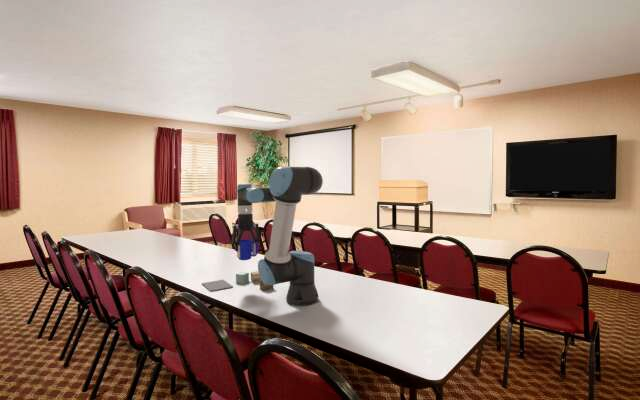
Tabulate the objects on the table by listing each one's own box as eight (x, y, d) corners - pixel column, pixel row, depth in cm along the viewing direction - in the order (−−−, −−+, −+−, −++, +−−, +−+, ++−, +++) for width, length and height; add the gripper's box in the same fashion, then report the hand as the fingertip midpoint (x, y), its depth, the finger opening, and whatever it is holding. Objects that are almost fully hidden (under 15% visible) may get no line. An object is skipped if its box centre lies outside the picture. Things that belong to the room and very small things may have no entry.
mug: (255, 261, 184) (254, 242, 183) (234, 261, 187) (233, 242, 186) (262, 257, 191) (261, 239, 191) (241, 257, 195) (240, 239, 194)
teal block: (248, 281, 202) (248, 272, 202) (243, 283, 198) (242, 274, 197) (241, 280, 204) (241, 271, 204) (236, 282, 200) (235, 274, 200)
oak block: (261, 281, 201) (261, 273, 201) (252, 283, 199) (252, 274, 199) (259, 279, 206) (259, 271, 205) (250, 280, 204) (250, 272, 203)
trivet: (233, 287, 191) (232, 286, 191) (210, 291, 184) (210, 290, 184) (223, 280, 204) (223, 279, 204) (201, 284, 198) (201, 283, 198)
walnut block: (273, 288, 189) (273, 279, 188) (266, 290, 185) (265, 281, 185) (267, 286, 192) (266, 277, 192) (259, 288, 188) (259, 279, 188)
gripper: (260, 211, 196) (261, 252, 198) (223, 214, 185) (224, 257, 186) (266, 212, 190) (267, 255, 191) (228, 215, 179) (229, 260, 180)
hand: (246, 256), depth 189 cm, fingers closed on mug, 8 cm apart
